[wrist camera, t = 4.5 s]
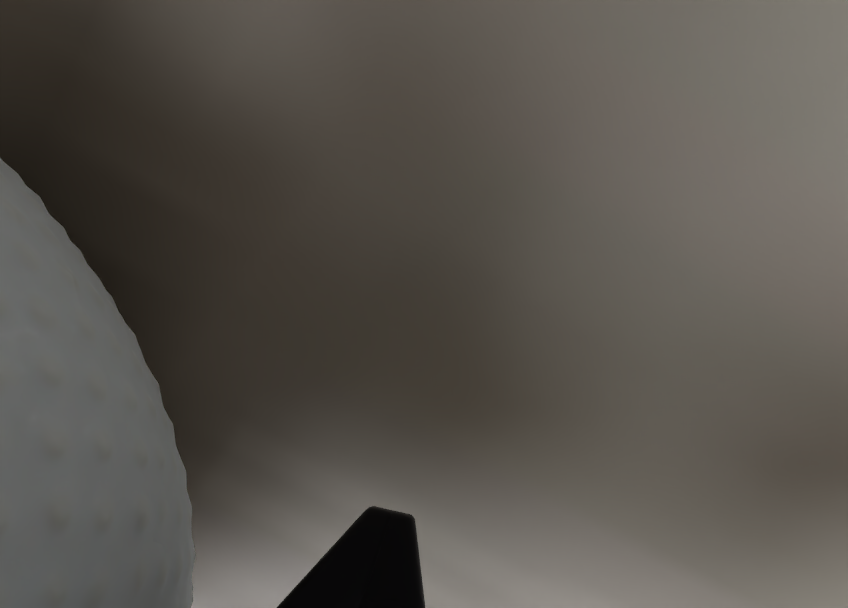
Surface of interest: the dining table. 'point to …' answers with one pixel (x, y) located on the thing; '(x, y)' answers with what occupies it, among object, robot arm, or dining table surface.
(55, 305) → the cereal bowl
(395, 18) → the dining table surface
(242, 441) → the dining table surface
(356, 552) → the robot arm
